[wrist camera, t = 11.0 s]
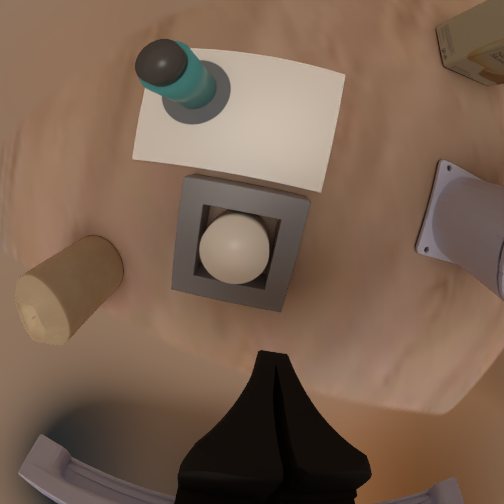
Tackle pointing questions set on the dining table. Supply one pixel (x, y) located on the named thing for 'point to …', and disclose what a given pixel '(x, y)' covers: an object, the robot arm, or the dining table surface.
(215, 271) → the button
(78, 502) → the robot arm
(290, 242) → the button housing
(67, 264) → the candle
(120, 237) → the dining table surface
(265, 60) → the paper
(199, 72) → the bottle
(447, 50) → the skincare box
